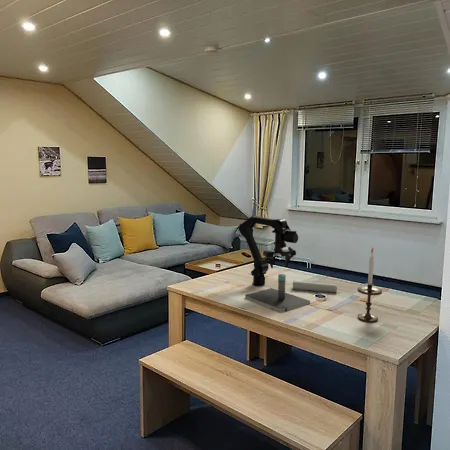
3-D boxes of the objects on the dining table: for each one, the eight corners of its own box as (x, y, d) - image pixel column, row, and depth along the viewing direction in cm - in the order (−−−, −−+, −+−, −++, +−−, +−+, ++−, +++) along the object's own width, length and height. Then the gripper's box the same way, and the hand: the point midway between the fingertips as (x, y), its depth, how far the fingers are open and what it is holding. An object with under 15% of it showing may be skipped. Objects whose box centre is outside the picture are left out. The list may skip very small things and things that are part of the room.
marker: (277, 299, 220) (277, 275, 218) (278, 297, 224) (279, 273, 222) (284, 300, 219) (284, 276, 217) (285, 298, 223) (286, 274, 220)
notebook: (310, 304, 220) (271, 291, 242) (310, 300, 220) (271, 287, 241) (282, 313, 207) (243, 298, 228) (282, 309, 206) (243, 294, 228)
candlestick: (381, 324, 193) (387, 249, 188) (357, 322, 195) (361, 248, 190) (377, 315, 203) (382, 244, 198) (354, 314, 205) (358, 243, 200)
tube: (337, 284, 242) (293, 280, 248) (337, 283, 237) (293, 280, 243) (336, 293, 242) (293, 289, 247) (337, 293, 236) (292, 289, 242)
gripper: (271, 244, 229) (270, 272, 232) (301, 242, 236) (300, 269, 238) (262, 240, 240) (262, 267, 242) (291, 239, 246) (290, 265, 248)
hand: (279, 267), depth 242 cm, fingers open, 9 cm apart
